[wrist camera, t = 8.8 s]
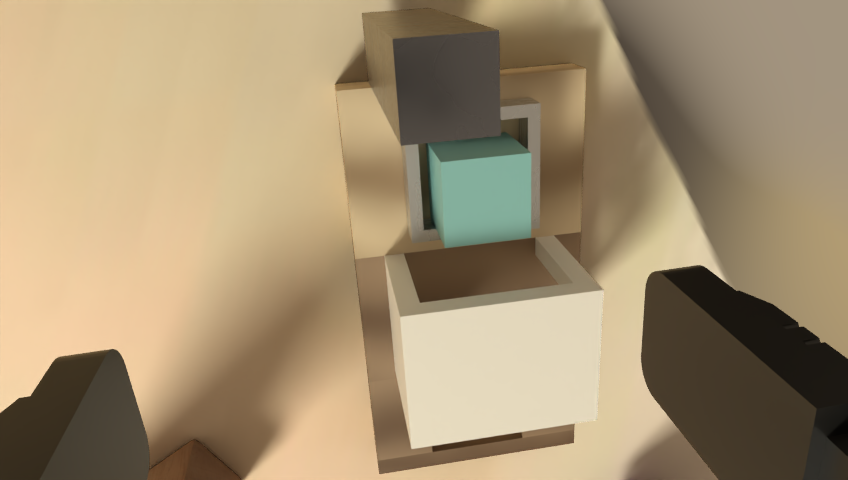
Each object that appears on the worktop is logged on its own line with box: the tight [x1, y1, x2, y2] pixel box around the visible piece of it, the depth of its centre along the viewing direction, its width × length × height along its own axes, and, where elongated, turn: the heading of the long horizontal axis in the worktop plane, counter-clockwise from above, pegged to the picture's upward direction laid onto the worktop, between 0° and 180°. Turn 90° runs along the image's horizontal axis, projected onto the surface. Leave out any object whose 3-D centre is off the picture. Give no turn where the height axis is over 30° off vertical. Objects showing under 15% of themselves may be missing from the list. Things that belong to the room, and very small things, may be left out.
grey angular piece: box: [362, 8, 541, 243], centre depth 26 cm, size 11×8×12 cm
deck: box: [335, 63, 586, 474], centre depth 36 cm, size 22×12×2 cm, turn 3°
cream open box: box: [385, 235, 604, 449], centre depth 32 cm, size 7×9×6 cm
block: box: [426, 132, 531, 248], centre depth 31 cm, size 4×4×4 cm
